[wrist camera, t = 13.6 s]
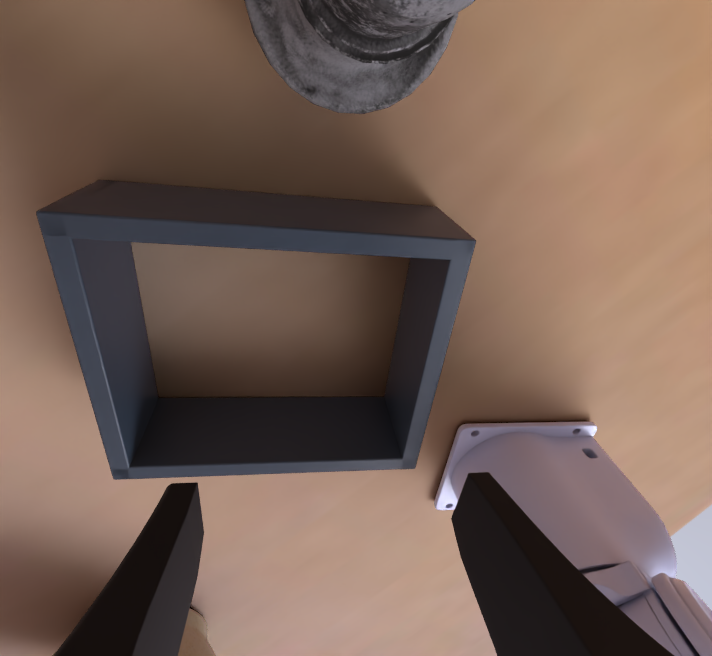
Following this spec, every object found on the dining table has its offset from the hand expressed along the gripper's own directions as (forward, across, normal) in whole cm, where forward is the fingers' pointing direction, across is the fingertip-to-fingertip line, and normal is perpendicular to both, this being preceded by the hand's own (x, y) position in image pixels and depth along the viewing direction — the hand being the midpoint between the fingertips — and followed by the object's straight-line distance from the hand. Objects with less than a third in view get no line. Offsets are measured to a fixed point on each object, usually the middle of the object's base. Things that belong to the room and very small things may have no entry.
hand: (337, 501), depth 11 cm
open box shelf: (+10, +2, 0) cm, 11 cm away
